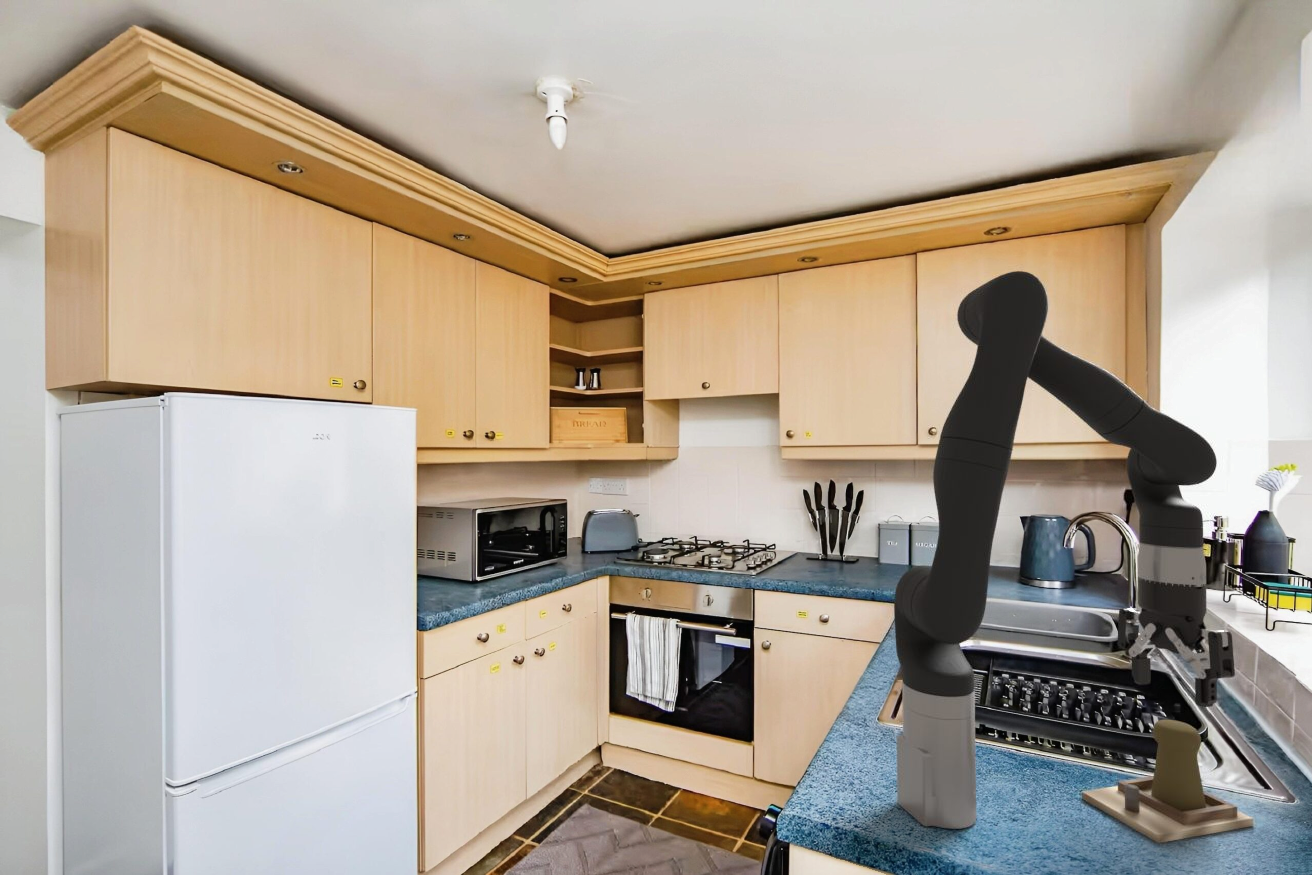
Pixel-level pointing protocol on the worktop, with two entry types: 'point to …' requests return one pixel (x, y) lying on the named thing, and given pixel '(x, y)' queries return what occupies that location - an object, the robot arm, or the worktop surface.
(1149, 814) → the socket plate
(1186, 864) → the worktop surface
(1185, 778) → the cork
